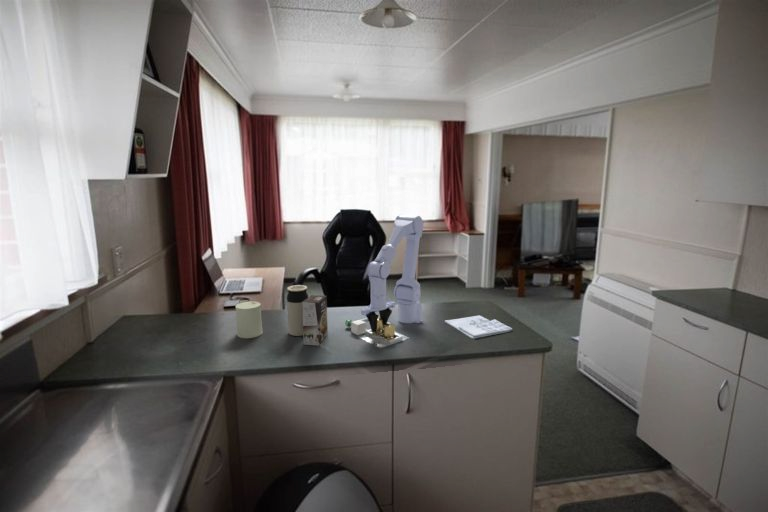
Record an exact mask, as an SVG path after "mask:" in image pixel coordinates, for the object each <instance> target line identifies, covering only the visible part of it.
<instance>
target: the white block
mask: <svg viewBox="0 0 768 512" xmlns="http://www.w3.org/2000/svg"><path fill="white" fill-rule="evenodd" d="M350 329H351V330H350V331H351V333H352V334H354V335H355V336H361V335H363V334H366V329H367V322H364V321H362V320H361V319H358V320H353V321H352V322H351V326H350Z"/></svg>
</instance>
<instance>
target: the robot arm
mask: <svg viewBox="0 0 768 512" xmlns="http://www.w3.org/2000/svg"><path fill="white" fill-rule="evenodd" d="M393 225H394V226H393V227H394V228H393V231H392V233H391V235H390V238H389V240H388V242H387V244H385V245H382V247H381V249H380V251H379V252H378V254H377V256H376V258H375V259H374V260H373V261H371V262H370V263H369V264H368V266H367V269H366V274H367V276H368V281H369V283H370V304H369V305H368V306H365V307H363V308H361V311H360V313H361V315H363V316H364V317H365V318H368V320H369V321H368V323H369V325H370V329H371V330H372V331H374V332H376V330H377V319H378V318H383V329H384V324H387V322H389V319H390V316H392V315H391V314H392V313H393V310H392V309H393V308H396V302H397V321H398V322H399V323H402V324H412V323H417V324H420V323H423V320H422V304H421V301H420V299H421V296H422V294H421V293H422V292H421V284H420V283H419V281H418V280H416V273H417V263H418V258H419V257H418V256H419V249H420V247H419V246H420V239H421V238H422V236H423V230H424V220H423V219H422V216H421V215H405V214H404V215H403V214H397V216H396V217H395V219H394V222H393ZM404 237H405V239H406V241H405V242H406V243H405V251H404V259H403V267H402V275H401V278H400V279H398V280H396V284H395V287H394V289H393V296H394V299H395V300H396V302H395V301H387V278H388V277H389V275H390V272H391V265H392V262H393V260H394V259H395V257H396V255H397V247H398V246H399V245H400V243H401V242H402V240H404V239H403V238H404ZM391 308H392V309H391ZM376 312H378V313H379V315H378V314H377V313H376Z"/></svg>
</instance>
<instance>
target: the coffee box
mask: <svg viewBox="0 0 768 512" xmlns="http://www.w3.org/2000/svg"><path fill="white" fill-rule="evenodd" d="M327 298H328V296H327V295H312V294H310V295H308V298H307V299H305V300H304V301H303V302H302V309H303V335H302V336H303V345H305V346H306V345H308V346H317V347H320V346H321V345H322V344H323V343H322V341H324V339H325V338H326V337H327V336H328V334H329V333H328V332H329V329H328V328H329V327H328V326H329V325H328V300H327Z"/></svg>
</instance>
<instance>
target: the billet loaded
mask: <svg viewBox="0 0 768 512" xmlns="http://www.w3.org/2000/svg"><path fill="white" fill-rule="evenodd" d="M395 326H396V325H395V324H393V323H392V324H384V338H385V339H387V340H390V339H393V338H395V332H396V327H395Z"/></svg>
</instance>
